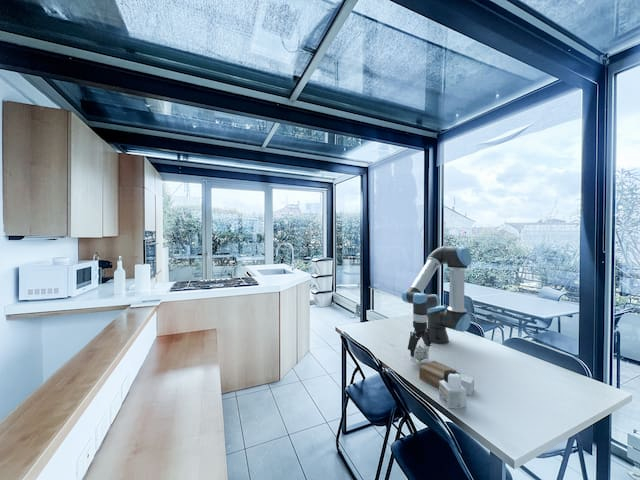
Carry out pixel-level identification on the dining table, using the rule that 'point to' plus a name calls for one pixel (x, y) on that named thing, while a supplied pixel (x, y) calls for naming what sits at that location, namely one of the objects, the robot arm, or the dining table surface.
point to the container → (452, 390)
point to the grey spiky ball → (420, 353)
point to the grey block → (467, 384)
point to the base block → (433, 373)
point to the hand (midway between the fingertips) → (419, 359)
